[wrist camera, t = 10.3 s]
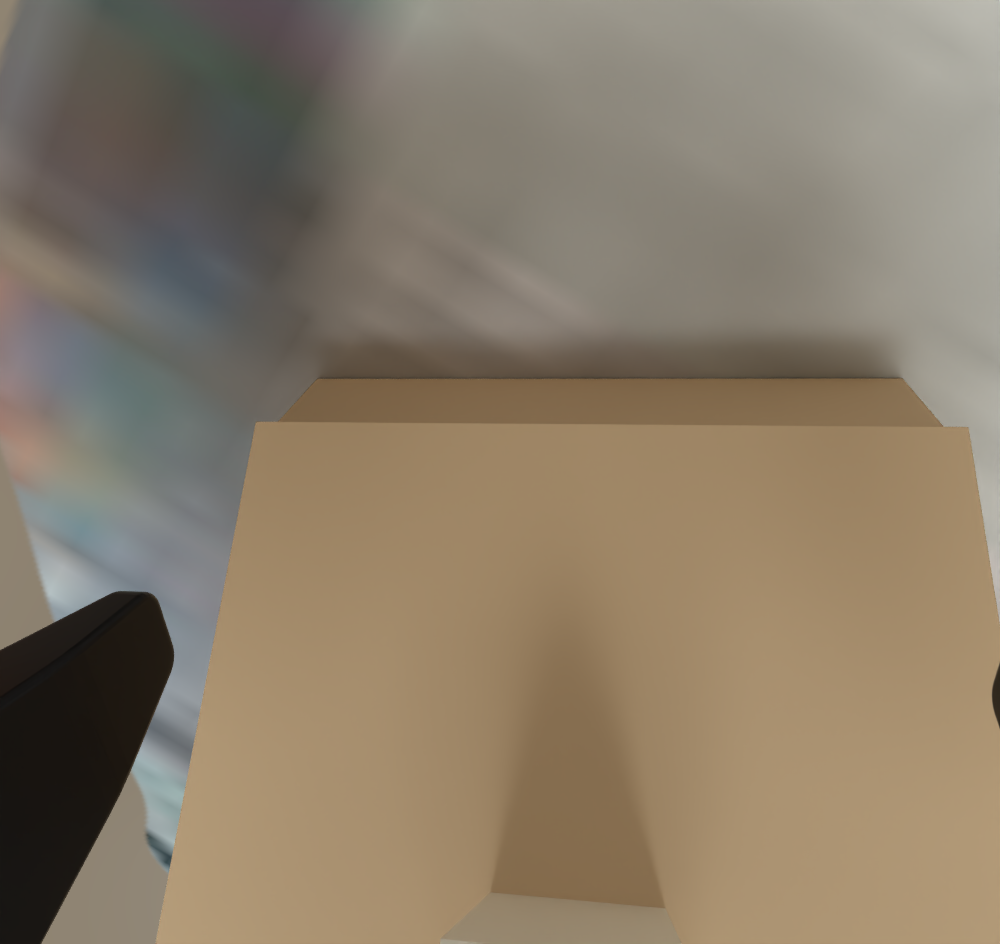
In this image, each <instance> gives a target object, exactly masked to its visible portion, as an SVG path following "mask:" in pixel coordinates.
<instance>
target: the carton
mask: <svg viewBox="0 0 1000 944" xmlns="http://www.w3.org/2000/svg"><path fill="white" fill-rule="evenodd" d="M278 422H351V423H483V424H616V425H748V426H881V427H943V425H942V424H941V423H940V422H939V421H938V419H937V418H936V417H935V416H934V415H933V414H932V412H931V411H930V410H929V409H928V408H927V407H926V405H925V404H924V403H923V402H922V401H921V400H920V398H919V397H918V396H917V395H916V394H915V393H914V391H913V390H912V389H911V388H910V387H909V386H908V384H907V383H906V382H905V381H904V380H903V378H836V379H317V380H316V381H315V382H314V383H313V384H312V385H311V386H310V387H309V388H308V389H307V391H306V392H305V393H304V394H303V395H302V396H301V397H300V398H299V399H298V400H297V402H296V403H295V404H294V405H293V406H292V407H291V408H290V409H289V410H288V411H287V413H286V414H285V415H284V416H283V417H282V418H281V419H280V420H279V421H278Z"/></svg>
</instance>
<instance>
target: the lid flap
mask: <svg viewBox="0 0 1000 944" xmlns="http://www.w3.org/2000/svg"><path fill="white" fill-rule="evenodd" d="M999 663H1000V624H999V617H998V611H997V605H996V598H995V592H994V586H993V579H992V573H991V567H990V561H989V554H988V548H987V542H986V535H985V529H984V523H983V516H982V510H981V504H980V497H979V491H978V485H977V479H976V472H975V466H974V460H973V453H972V447H971V441H970V434H969V428H968V427H881V426H748V425H616V424H483V423H351V422H256V424H255V430H254V435H253V440H252V445H251V450H250V455H249V461H248V466H247V471H246V476H245V481H244V487H243V492H242V497H241V502H240V507H239V513H238V518H237V523H236V528H235V533H234V538H233V544H232V549H231V554H230V559H229V564H228V570H227V575H226V580H225V585H224V590H223V596H222V601H221V606H220V611H219V616H218V621H217V627H216V632H215V637H214V642H213V647H212V653H211V658H210V663H209V668H208V673H207V679H206V684H205V689H204V694H203V699H202V704H201V710H200V715H199V720H198V725H197V730H196V736H195V741H194V746H193V751H192V756H191V762H190V767H189V772H188V777H187V782H186V787H185V793H184V798H183V803H182V808H181V813H180V819H179V824H178V829H177V834H176V839H175V844H174V850H173V855H172V860H171V865H170V870H169V876H168V881H167V886H166V891H165V897H164V902H163V907H162V912H161V917H160V922H159V927H158V933H157V938H156V943H155V944H1000V728H999V725H998V722H997V719H996V716H995V713H994V709H993V704H992V686H993V682H994V679H995V676H996V673H997V669H998V666H999Z"/></svg>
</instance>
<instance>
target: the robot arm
mask: <svg viewBox="0 0 1000 944" xmlns="http://www.w3.org/2000/svg"><path fill="white" fill-rule="evenodd" d="M173 662H174V649H173V645H172V642H171V638H170V635H169V632H168V629H167V626H166V623H165V620H164V617H163V614H162V611H161V607H160V604H159V602H158V600H157V599H156V597H155V596H154V595H153V594H151V593H148V592H134V591H118V592H114V593H111V594H109V595H107V596H105V597H103V598H101V599H99V600H97V601H95V602H94V603H92V604H90V605H88V606H86V607H84V608H82V609H80V610H78V611H76V612H74V613H72V614H70V615H68V616H66V617H64V618H62V619H60V620H58V621H56V622H54V623H52V624H50V625H49V626H47V627H45V628H43V629H41V630H39V631H37V632H35V633H33V634H31V635H29V636H27V637H25V638H23V639H21V640H19V641H17V642H16V643H13V644H12V645H9V646H7V647H6V648H4V649H2V650H0V944H41V943H42V941H43V939H44V937H45V936H46V934H47V932H48V930H49V928H50V926H51V924H52V922H53V921H54V919H55V917H56V915H57V913H58V911H59V909H60V907H61V906H62V904H63V902H64V900H65V898H66V896H67V894H68V892H69V890H70V889H71V887H72V885H73V883H74V881H75V879H76V877H77V875H78V873H79V872H80V870H81V868H82V866H83V864H84V862H85V860H86V858H87V857H88V855H89V853H90V851H91V849H92V847H93V845H94V843H95V841H96V840H97V838H98V836H99V834H100V832H101V830H102V828H103V826H104V824H105V823H106V821H107V819H108V817H109V815H110V813H111V811H112V809H113V807H114V805H115V803H116V801H117V799H118V797H119V795H120V793H121V791H122V789H123V787H124V784H125V782H126V780H127V778H128V775H129V773H130V771H131V769H132V766H133V764H134V761H135V759H136V756H137V754H138V752H139V749H140V747H141V744H142V742H143V739H144V737H145V734H146V732H147V730H148V727H149V725H150V722H151V720H152V717H153V715H154V712H155V710H156V707H157V705H158V703H159V700H160V698H161V695H162V693H163V690H164V688H165V685H166V683H167V681H168V678H169V676H170V673H171V670H172V667H173ZM992 704H993V709H994V713H995V716H996V719H997V722H998V725H999V728H1000V663H999V666H998V669H997V673H996V676H995V679H994V682H993V686H992Z"/></svg>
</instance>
